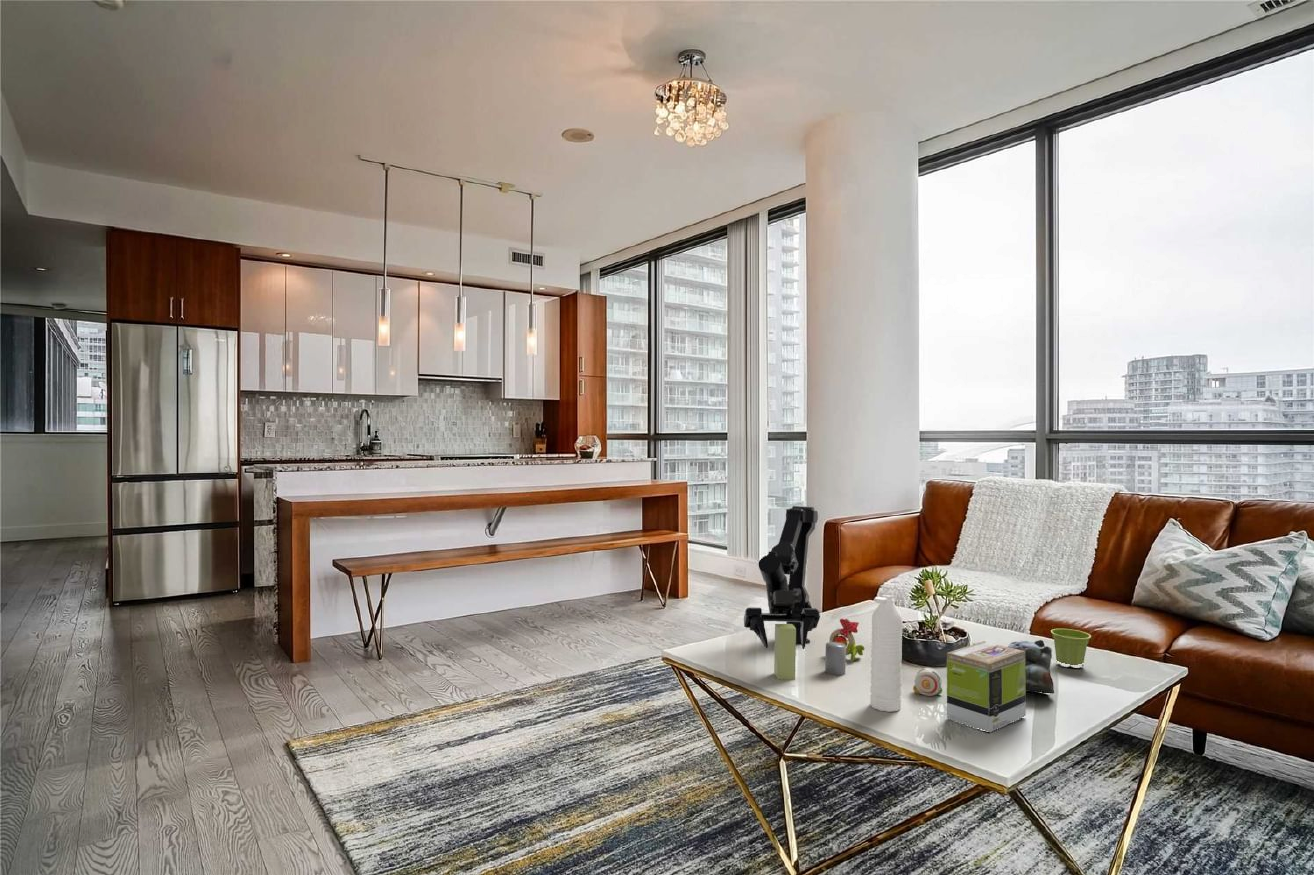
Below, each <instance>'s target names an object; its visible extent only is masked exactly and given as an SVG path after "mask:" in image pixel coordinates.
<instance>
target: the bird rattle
mask: <svg viewBox="0 0 1314 875" xmlns="http://www.w3.org/2000/svg"><path fill="white" fill-rule="evenodd" d="M839 623H840V625H841V627H842V628H837V629H835V630H834V631H833V632H831V634H830V636H829V642H838V643H842V644H845V645H846V656H849V655H850V660H851V662H853V661H854V660H855V659H856V656H857V654H858V655H859V656H863V655H864V653H863V651H864V650H865V647H864V645H862V644H858V645H856V641H855V636H854V635H853V633H854V634H855V633H856V634H857V633H858V632H859V630H858V629H857V628H858V627H859V624H860V622H857V621H856V622H855V621H853V622H852V621H850V620H849V619H848V618H845V619H844V618H840V619H839ZM829 642H828V643H829Z"/></svg>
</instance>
